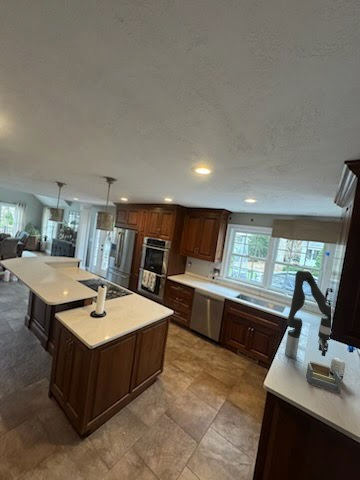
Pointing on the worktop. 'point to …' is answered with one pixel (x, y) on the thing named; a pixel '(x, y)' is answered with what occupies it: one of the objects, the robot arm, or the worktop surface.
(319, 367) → the door panel
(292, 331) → the robot arm
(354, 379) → the worktop surface
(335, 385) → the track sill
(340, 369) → the supplement can
